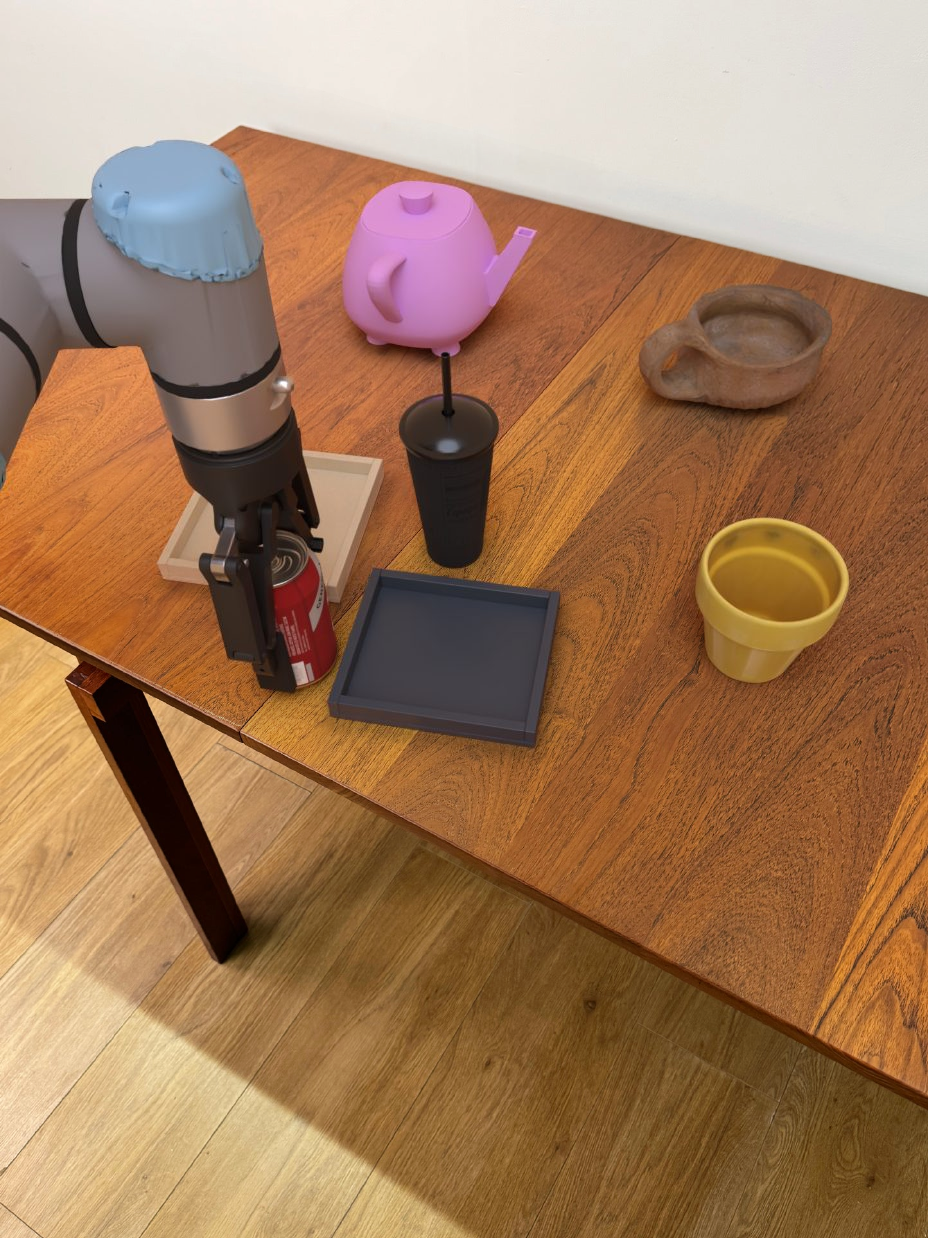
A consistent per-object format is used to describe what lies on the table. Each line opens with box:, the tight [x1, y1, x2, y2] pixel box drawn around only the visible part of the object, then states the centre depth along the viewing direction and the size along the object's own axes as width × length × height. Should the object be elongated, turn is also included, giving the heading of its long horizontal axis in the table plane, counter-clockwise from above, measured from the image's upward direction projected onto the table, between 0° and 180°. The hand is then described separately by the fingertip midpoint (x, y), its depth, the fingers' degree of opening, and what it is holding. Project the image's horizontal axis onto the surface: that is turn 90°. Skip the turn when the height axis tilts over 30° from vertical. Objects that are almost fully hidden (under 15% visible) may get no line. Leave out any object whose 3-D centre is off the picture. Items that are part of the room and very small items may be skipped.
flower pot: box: [694, 517, 850, 684], centre depth 75 cm, size 10×10×10 cm
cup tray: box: [156, 449, 385, 604], centre depth 88 cm, size 16×16×2 cm
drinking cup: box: [398, 352, 500, 569], centre depth 78 cm, size 8×8×20 cm
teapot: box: [341, 180, 538, 358], centre depth 100 cm, size 20×20×15 cm
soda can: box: [260, 529, 339, 690], centre depth 74 cm, size 7×7×12 cm
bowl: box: [638, 283, 833, 410], centre depth 95 cm, size 18×14×10 cm
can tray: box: [327, 567, 561, 749], centre depth 78 cm, size 16×14×2 cm
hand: (293, 647), depth 78 cm, fingers closed on soda can, 7 cm apart
